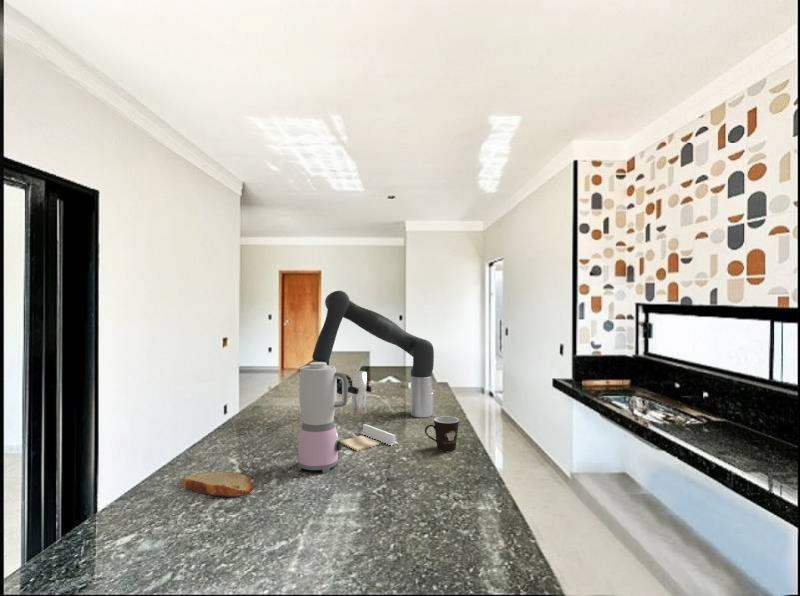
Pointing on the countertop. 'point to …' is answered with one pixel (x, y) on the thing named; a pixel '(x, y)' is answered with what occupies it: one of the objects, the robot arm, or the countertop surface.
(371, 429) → the acrylic fence
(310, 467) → the blender
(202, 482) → the bread slice
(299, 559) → the countertop surface
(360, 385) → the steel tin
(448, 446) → the coffee mug
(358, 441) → the oak board
